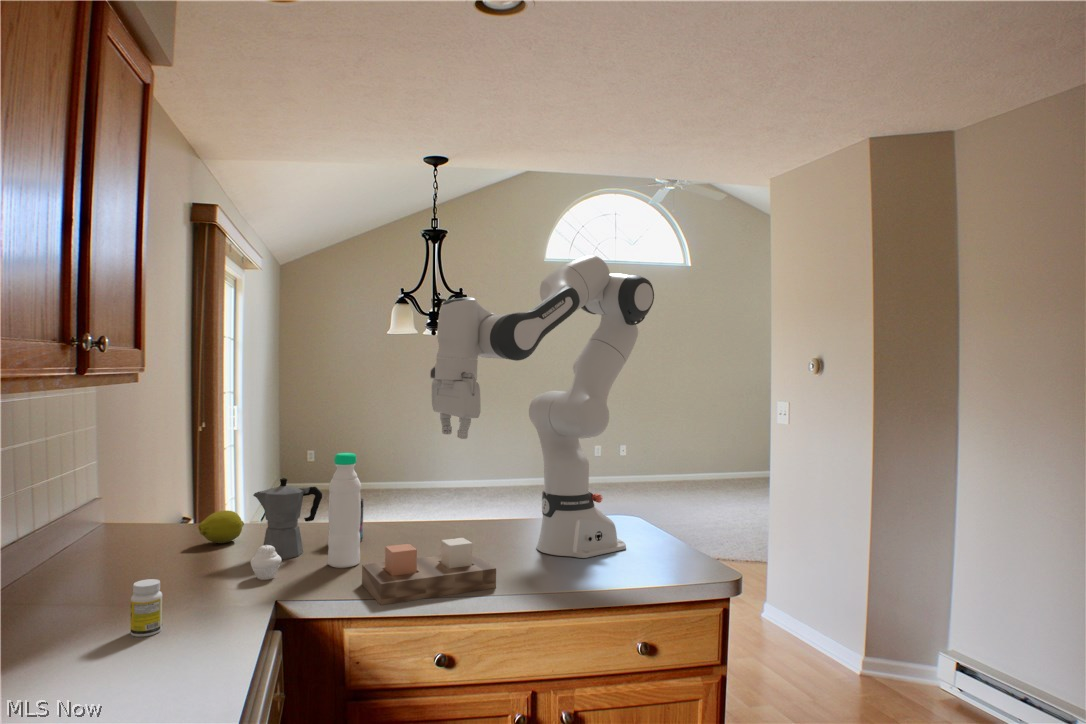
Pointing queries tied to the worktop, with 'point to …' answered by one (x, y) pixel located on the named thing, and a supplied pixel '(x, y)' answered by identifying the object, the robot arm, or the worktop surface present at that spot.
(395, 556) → the terracotta key
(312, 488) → the coffeepot
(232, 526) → the lemon
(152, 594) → the supplement bottle
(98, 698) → the worktop surface
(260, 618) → the worktop surface
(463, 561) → the cream key
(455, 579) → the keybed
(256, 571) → the muffin
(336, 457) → the water bottle
